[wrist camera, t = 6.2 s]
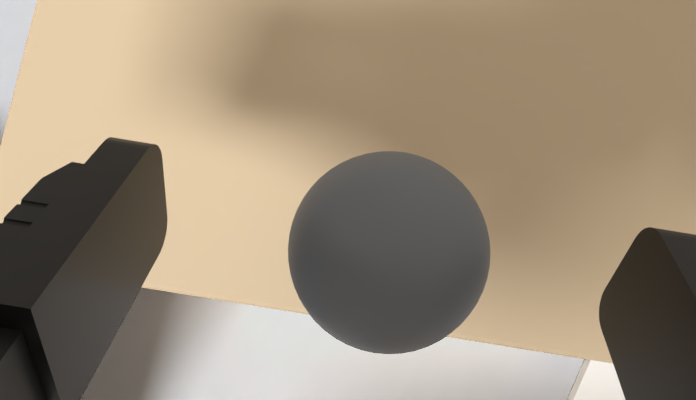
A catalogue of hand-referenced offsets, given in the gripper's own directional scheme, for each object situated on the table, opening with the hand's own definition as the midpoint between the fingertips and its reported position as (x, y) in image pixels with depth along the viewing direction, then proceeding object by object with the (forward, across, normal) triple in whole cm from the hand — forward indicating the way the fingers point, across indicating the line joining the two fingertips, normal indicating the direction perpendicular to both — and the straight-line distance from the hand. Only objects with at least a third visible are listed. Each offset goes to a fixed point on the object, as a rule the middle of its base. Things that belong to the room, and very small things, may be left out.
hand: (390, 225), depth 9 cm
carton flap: (+6, 0, -1) cm, 7 cm away
